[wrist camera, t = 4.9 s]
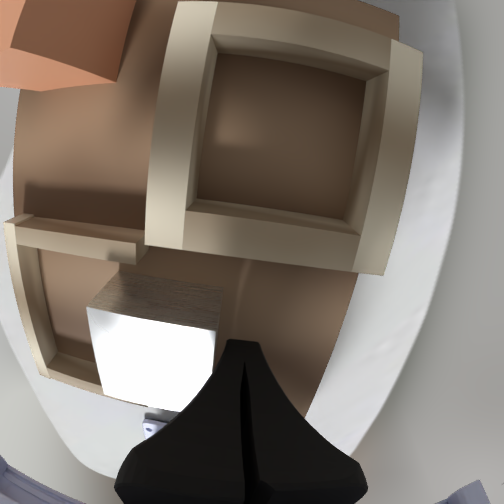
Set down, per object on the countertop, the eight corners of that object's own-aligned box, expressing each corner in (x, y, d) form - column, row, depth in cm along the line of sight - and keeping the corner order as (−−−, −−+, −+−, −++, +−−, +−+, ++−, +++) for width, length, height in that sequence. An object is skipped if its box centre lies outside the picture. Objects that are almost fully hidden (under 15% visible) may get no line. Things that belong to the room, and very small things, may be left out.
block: (213, 368, 13) (207, 416, 10) (125, 352, 13) (104, 394, 10) (223, 287, 12) (216, 331, 9) (118, 270, 11) (86, 306, 9)
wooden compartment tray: (298, 392, 17) (306, 440, 13) (65, 351, 16) (39, 389, 13) (376, 32, 10) (416, 4, 6) (68, 16, 9) (26, -5, 5)
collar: (363, 254, 11) (383, 275, 9) (161, 227, 11) (144, 244, 9) (397, 63, 8) (423, 52, 7) (189, 23, 8) (178, 1, 6)
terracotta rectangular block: (116, 82, 9) (10, 47, 3) (40, 91, 9) (-64, 84, 3) (137, -3, 7) (67, -78, 2) (60, 12, 7) (-24, -27, 2)
